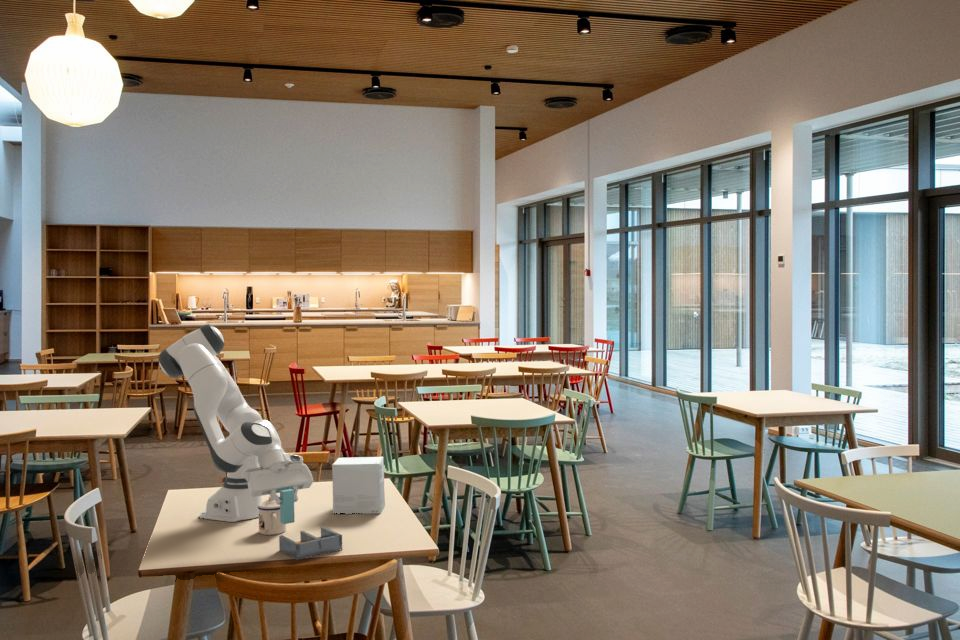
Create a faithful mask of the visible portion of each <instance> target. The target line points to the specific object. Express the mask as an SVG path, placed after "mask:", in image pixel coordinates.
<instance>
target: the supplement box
mask: <svg viewBox="0 0 960 640" xmlns="http://www.w3.org/2000/svg"><path fill="white" fill-rule="evenodd" d="M331 469H332V470H331V473H332V477H331V478H332V514H333V515H340V513H345V514H344V515H353V514H352V513H355V514H354V515H357V514H358V513H360V514H359V515H364V514H365V515H370V514H371V515H372V514H374V515H375V514H381V513H382V511H383V510H384V508H385V505H386V497H385V495H386V494H385V492H386V491H385V464H384V456H358V457H357V456H355V457H352V456H351V457H338V458H337V459H336V460H335V461H334V463H332V464H331ZM334 513H335V514H334ZM336 513H337V514H336ZM356 513H357V514H356ZM361 513H362V514H361Z"/></svg>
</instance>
